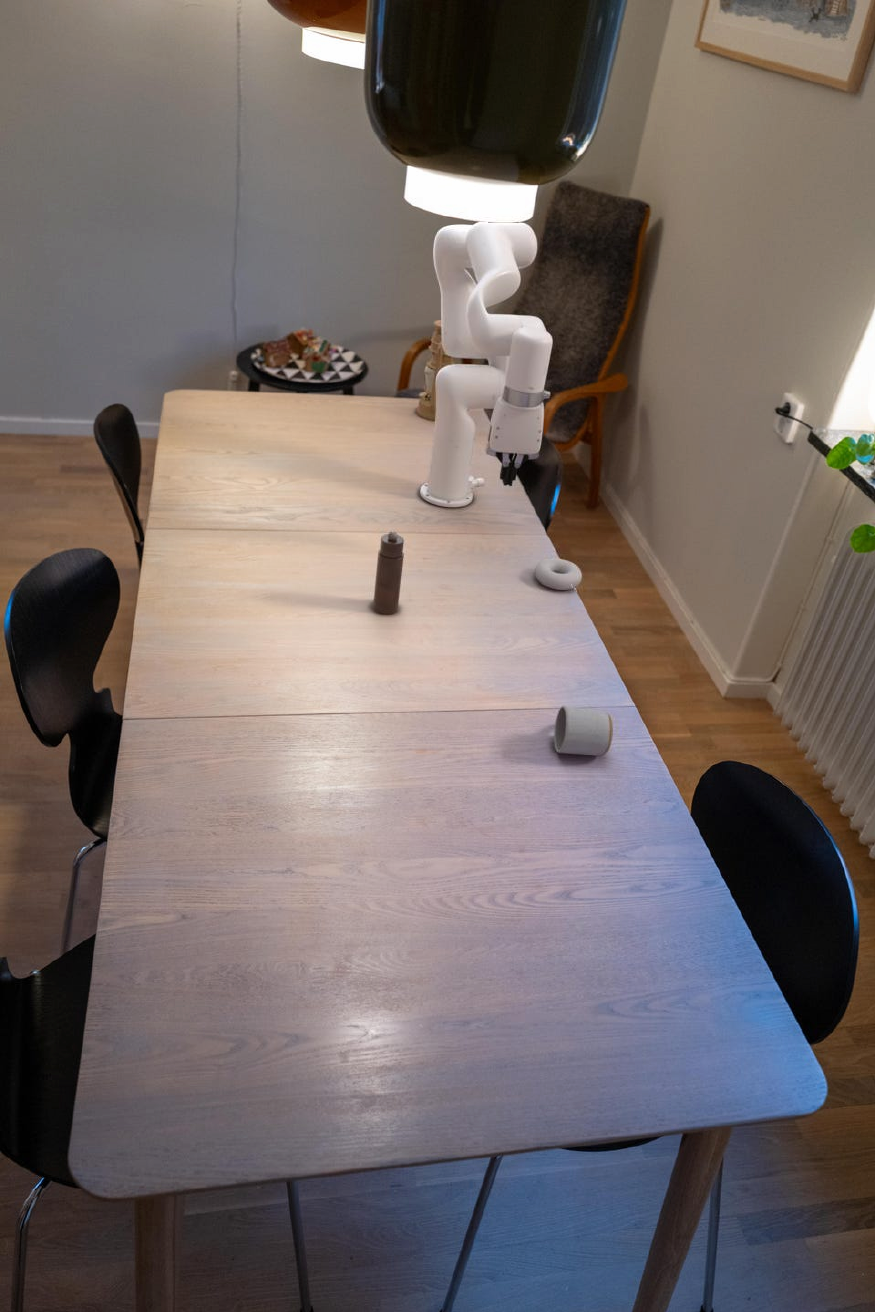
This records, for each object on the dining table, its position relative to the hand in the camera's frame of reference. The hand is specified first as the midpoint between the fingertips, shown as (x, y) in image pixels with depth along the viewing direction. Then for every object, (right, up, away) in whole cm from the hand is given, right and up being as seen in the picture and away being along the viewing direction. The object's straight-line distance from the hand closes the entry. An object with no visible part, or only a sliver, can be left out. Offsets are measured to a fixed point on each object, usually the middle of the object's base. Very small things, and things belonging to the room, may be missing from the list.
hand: (506, 482), depth 201 cm
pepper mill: (-24, -26, -8) cm, 36 cm away
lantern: (-15, +34, +83) cm, 90 cm away
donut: (+11, -19, +9) cm, 24 cm away
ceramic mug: (+9, -49, -37) cm, 62 cm away
